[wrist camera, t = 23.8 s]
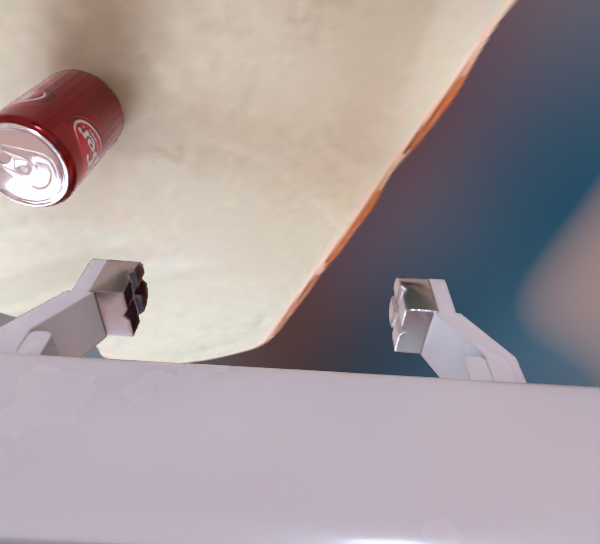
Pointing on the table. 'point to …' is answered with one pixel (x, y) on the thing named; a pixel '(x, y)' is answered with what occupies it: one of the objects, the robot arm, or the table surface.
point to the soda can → (56, 137)
